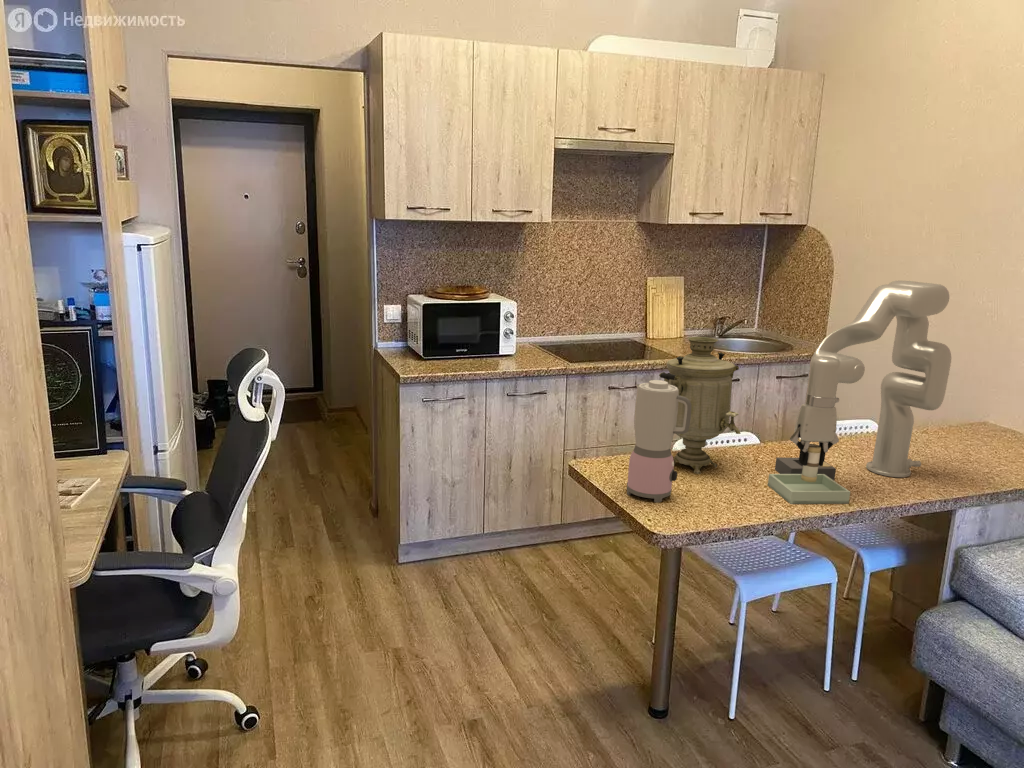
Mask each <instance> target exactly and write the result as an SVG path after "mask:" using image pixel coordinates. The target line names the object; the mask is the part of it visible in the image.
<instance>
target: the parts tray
mask: <svg viewBox="0 0 1024 768" xmlns="http://www.w3.org/2000/svg"><path fill="white" fill-rule="evenodd" d="M801 475H802V474H780V473H768V479H767V486H768V487H769V488H771V490H773V491H774V492H775V493H776V494H777V495H779V496H780V497H781V498H782V499H784V500H785V501H786V502H787V503H789V504H790V505H804V504H805V505H812V504H813V505H817V504H818V505H825V504H826V505H829V504H831V505H833V504H835V505H838V504H839V505H840V504H841V505H843V504H844V505H847V504H849V503H850V497H851V491H850V490H848V489H847V488H846V487H844V486H842V485H841V484H839V483H838V482H837V481H836V480H832V479H831V478H829V477H828V476H826V475H825V474H817V480H816V482H806V481H803V480H802V479H801Z"/></svg>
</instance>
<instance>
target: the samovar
mask: <svg viewBox="0 0 1024 768" xmlns="http://www.w3.org/2000/svg"><path fill="white" fill-rule="evenodd" d="M686 340H688V341H689V342H690V345H689V348H690V350H691V353H688V354H686V355H684V356H681V355H680V356H677V357H675V358H672V359H668V360H667V361H666V367H667V370H668V372H667V373H666V372H664V371H663V372H660V373H659V375H658V376H659V377H660V378H661V379H663V381H666V382H668V384H669V385H673V386H675V387H677V388H678V390H679V393H678V395H679V396H683V397H686V398H688V399H689V400H690V402H691V419H690V426H689V430H688V432H687V433H684V434H675V435H676V436H678V437H680V438H682V445H683V446H685V448H683V449H681V450H680V451H677V452H676V454H675V456H674V457H673V460H674V464H676V463H679V464H680V465H681V464H683V465H685V466H690V467H691V468H692V469H693V470H694V471H693V473H694V474H696V475H700V474H701V473H702V472H701V468H702V467H703V466H705V467H707V466H708V465H711V466H714V467H715V468H717V467H718V464H717V462H714V461H713V460H712V459H711V456H710V455H709V454H708V453H707V452H705V451H704V450H703V448H706V445H707V440H712V439H714V438H717V437H718V436H719V435H720V434H723V433H724V432H725V430H726V429H728V428H729V430H730V431H732V432H735V434H736V435H740V434H741V431H740V429H739V427H737V426H736V424H735V420H734V419H735V418H736V417H737V416H739V415H740V414H739V412H736V411H731V402H732V401H731V400H732V387H733V378H734V373H735V372H736V371H739V370H740V367H739V365H735V363H732V362H730V361H728V360H724V359H723V357H724V356H725V353H723V352H721V351H720V352H717V354H718V357H717V356H715V355H714V354H712V352H713V351H714V346H715V344H716V343H717V342H718V341H719V340H718V339H717V338H713V337H703V336H692V337H691V336H689V337H687V339H686ZM684 413H685V405H684V404H683V403H681V402H678V412H677V421H676V427H679V428H682V427H683V422H684Z"/></svg>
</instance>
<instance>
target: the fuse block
mask: <svg viewBox="0 0 1024 768" xmlns="http://www.w3.org/2000/svg"><path fill="white" fill-rule="evenodd" d="M775 458H776V459H775V464H774V465H775V466H774V471H776V472H777V474H802V469H803V465H802V464H801V463H800V462H799V457H782V456H781V457H779V456H778V457H775ZM836 472H837V468H836V467H835V466H833V465H831V464H830V463H828V462H826V461H825V460H824V462H823V466H820V465H819V466H818V473H817V474H825V475H826V476H828V477H829V478H831V479H832V480H834V481H836V480H835V477H836Z"/></svg>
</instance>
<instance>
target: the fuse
mask: <svg viewBox="0 0 1024 768" xmlns="http://www.w3.org/2000/svg"><path fill="white" fill-rule="evenodd" d="M807 452H808V453H809V455H808V462H807V465H806V466H804V465H803V469H802V475H801V479H802V480H803V481H806V482H816V480H817V473H818V466H819V459H820V452H821V446H819V444H815V443H810V444H809V447H808V450H807Z"/></svg>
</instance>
